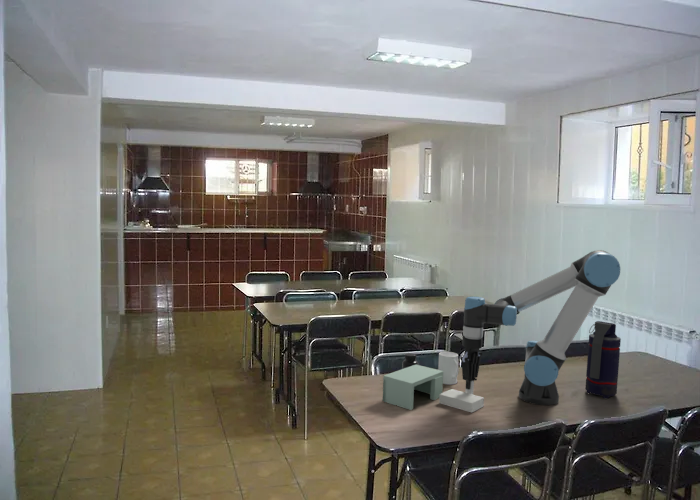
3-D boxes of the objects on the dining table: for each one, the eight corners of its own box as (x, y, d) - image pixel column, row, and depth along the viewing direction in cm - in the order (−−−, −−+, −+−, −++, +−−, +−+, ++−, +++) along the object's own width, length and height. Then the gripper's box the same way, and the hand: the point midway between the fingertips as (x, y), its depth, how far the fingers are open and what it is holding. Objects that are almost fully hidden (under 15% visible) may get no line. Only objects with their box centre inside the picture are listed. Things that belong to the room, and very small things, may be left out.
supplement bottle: (419, 381, 249) (421, 353, 248) (414, 385, 243) (416, 357, 242) (404, 379, 252) (405, 351, 251) (399, 383, 246) (400, 355, 245)
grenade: (592, 387, 249) (597, 318, 246) (621, 394, 240) (626, 323, 238) (578, 394, 239) (583, 322, 237) (607, 402, 231) (613, 327, 228)
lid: (483, 406, 221) (484, 397, 221) (471, 412, 214) (472, 403, 214) (451, 397, 230) (451, 388, 230) (439, 403, 223) (439, 394, 223)
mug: (464, 386, 245) (466, 358, 244) (446, 387, 242) (447, 359, 241) (451, 377, 256) (452, 351, 255) (433, 379, 253) (434, 352, 252)
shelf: (443, 396, 231) (444, 371, 230) (411, 410, 214) (413, 383, 213) (414, 388, 240) (415, 364, 239) (382, 401, 223) (383, 375, 222)
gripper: (472, 332, 232) (468, 390, 234) (455, 337, 222) (451, 398, 224) (489, 336, 227) (485, 395, 229) (472, 341, 217) (469, 403, 220)
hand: (469, 396), depth 227 cm, fingers closed
